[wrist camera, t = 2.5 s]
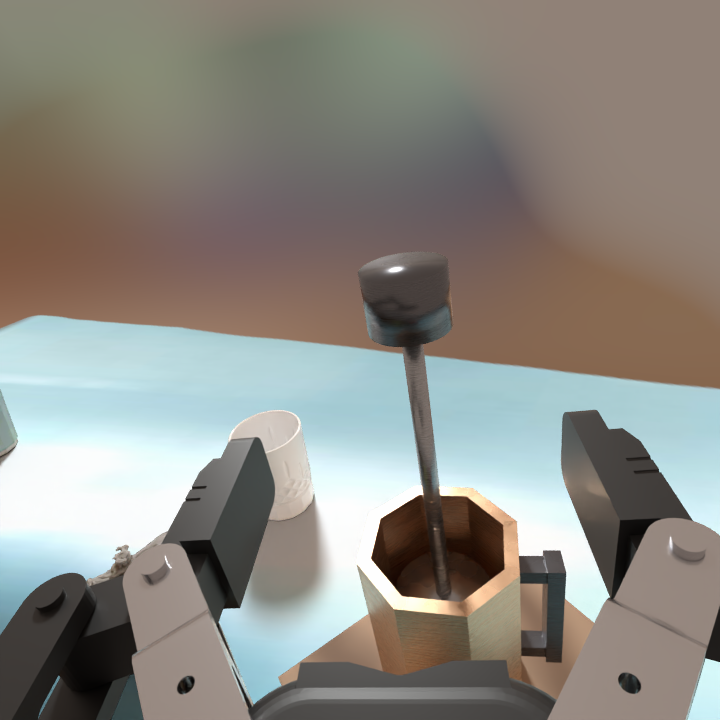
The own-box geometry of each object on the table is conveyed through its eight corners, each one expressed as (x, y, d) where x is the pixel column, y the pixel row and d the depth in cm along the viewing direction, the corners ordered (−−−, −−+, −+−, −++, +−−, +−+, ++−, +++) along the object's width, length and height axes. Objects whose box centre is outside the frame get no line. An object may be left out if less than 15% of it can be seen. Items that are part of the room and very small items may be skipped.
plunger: (438, 666, 29) (384, 307, 18) (377, 590, 34) (307, 274, 23) (516, 603, 31) (508, 257, 21) (449, 541, 36) (415, 237, 26)
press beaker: (454, 791, 31) (433, 658, 24) (367, 661, 38) (334, 534, 32) (569, 680, 35) (579, 543, 28) (471, 584, 43) (460, 459, 36)
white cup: (333, 492, 57) (315, 423, 53) (280, 537, 53) (256, 465, 48) (290, 468, 63) (271, 402, 58) (239, 506, 58) (214, 438, 53)
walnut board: (400, 937, 26) (398, 930, 26) (281, 685, 39) (278, 677, 39) (647, 678, 35) (648, 668, 35) (485, 541, 48) (484, 532, 47)
